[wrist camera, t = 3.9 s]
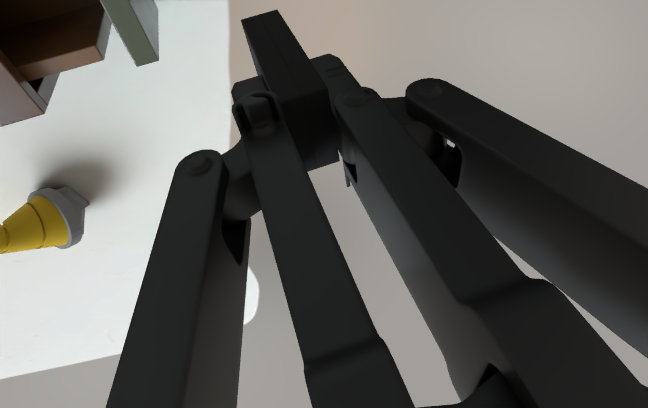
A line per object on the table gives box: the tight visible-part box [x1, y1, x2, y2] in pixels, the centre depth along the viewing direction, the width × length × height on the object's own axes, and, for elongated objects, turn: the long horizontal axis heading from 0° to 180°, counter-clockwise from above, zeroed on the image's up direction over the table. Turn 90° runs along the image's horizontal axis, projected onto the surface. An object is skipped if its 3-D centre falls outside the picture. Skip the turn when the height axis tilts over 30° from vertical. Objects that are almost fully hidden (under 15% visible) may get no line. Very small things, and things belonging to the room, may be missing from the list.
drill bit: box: [0, 186, 90, 254], centre depth 31 cm, size 5×5×10 cm
